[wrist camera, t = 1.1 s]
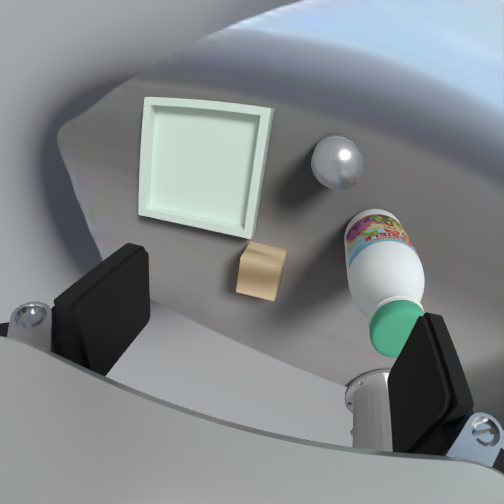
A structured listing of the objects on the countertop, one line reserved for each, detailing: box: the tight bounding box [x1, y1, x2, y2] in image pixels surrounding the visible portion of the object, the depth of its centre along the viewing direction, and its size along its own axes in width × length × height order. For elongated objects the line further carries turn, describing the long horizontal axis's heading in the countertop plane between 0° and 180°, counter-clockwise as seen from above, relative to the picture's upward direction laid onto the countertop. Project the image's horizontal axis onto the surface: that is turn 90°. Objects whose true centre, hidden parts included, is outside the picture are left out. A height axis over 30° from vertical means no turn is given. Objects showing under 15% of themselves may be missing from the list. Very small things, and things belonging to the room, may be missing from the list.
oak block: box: [236, 242, 287, 301], centre depth 42 cm, size 5×5×5 cm
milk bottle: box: [344, 209, 425, 357], centre depth 30 cm, size 8×8×20 cm
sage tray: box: [139, 97, 274, 239], centre depth 39 cm, size 16×16×2 cm
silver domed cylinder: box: [311, 133, 364, 190], centre depth 32 cm, size 5×5×8 cm
